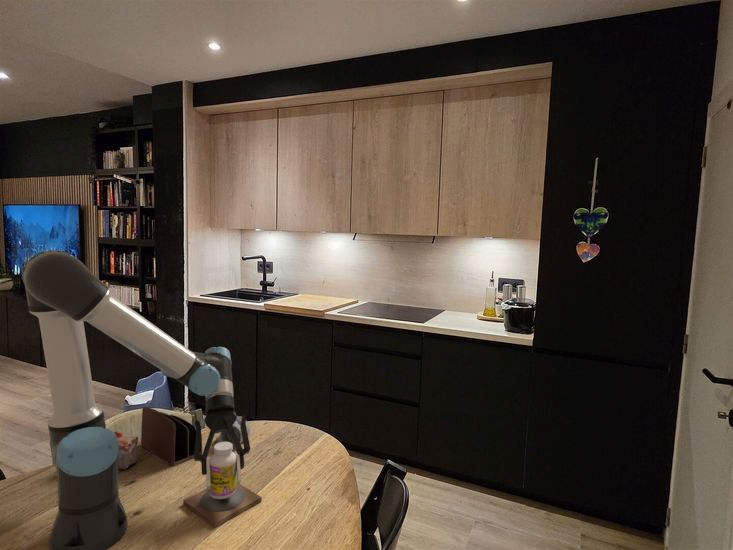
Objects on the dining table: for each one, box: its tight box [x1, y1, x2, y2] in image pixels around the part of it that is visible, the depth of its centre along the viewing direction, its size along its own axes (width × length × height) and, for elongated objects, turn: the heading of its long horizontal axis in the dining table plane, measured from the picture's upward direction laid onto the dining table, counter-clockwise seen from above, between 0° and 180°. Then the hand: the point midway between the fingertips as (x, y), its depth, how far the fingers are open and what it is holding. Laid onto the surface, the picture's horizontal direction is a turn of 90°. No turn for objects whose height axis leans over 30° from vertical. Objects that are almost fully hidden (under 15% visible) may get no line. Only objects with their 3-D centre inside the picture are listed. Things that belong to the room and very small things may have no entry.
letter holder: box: [140, 406, 203, 467], centre depth 142 cm, size 10×20×14 cm, turn 52°
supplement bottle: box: [209, 441, 237, 499], centre depth 116 cm, size 7×7×13 cm
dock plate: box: [182, 481, 263, 529], centre depth 116 cm, size 14×14×1 cm
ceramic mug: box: [215, 420, 251, 449], centre depth 150 cm, size 11×8×8 cm
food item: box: [113, 431, 139, 470], centre depth 132 cm, size 14×8×10 cm, turn 90°
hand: (224, 484), depth 113 cm, fingers open, 7 cm apart
